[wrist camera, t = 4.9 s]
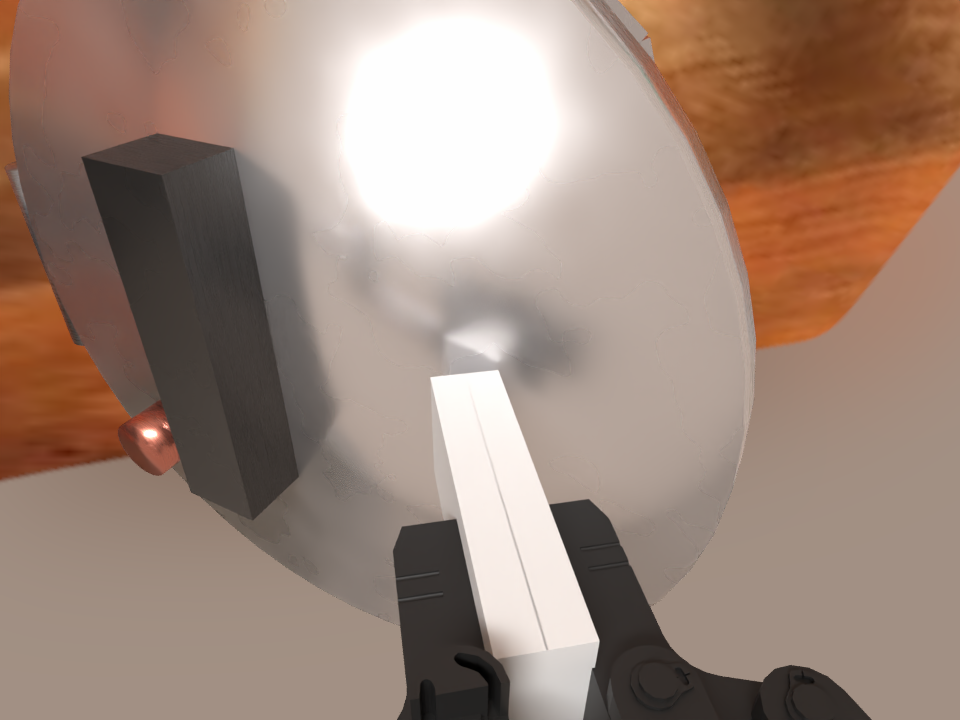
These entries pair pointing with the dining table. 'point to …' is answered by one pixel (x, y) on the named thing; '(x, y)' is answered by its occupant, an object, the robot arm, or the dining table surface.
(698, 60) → the dining table surface
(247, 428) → the lid
